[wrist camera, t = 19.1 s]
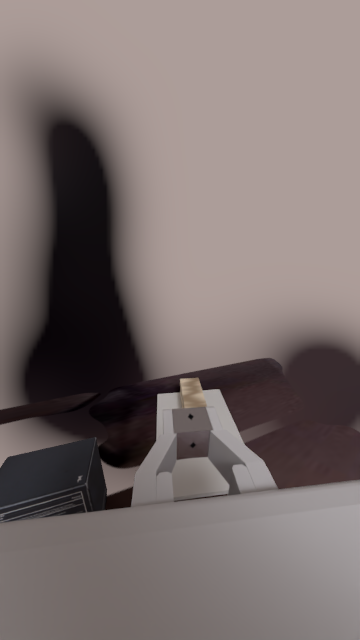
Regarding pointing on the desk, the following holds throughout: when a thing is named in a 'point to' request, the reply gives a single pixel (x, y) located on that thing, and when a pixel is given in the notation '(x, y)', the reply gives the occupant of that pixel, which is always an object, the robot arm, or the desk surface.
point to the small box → (52, 482)
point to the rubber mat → (197, 472)
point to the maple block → (191, 393)
